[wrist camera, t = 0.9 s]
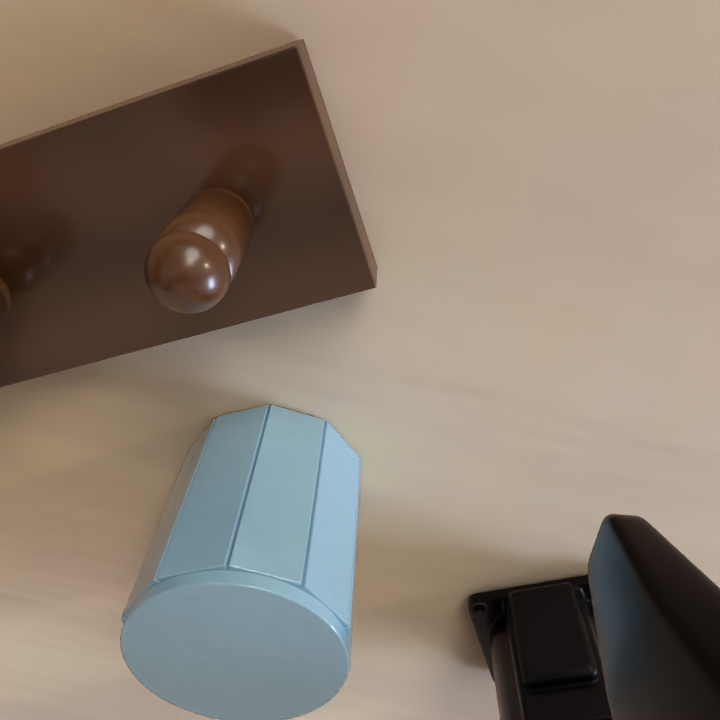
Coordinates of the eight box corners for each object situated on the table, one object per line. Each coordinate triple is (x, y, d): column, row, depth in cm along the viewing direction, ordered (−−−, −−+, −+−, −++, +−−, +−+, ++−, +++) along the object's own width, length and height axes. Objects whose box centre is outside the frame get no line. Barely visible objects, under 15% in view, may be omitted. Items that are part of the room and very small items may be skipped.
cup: (384, 518, 27) (381, 707, 20) (228, 548, 28) (177, 735, 22) (331, 388, 24) (308, 564, 17) (157, 429, 25) (71, 607, 18)
